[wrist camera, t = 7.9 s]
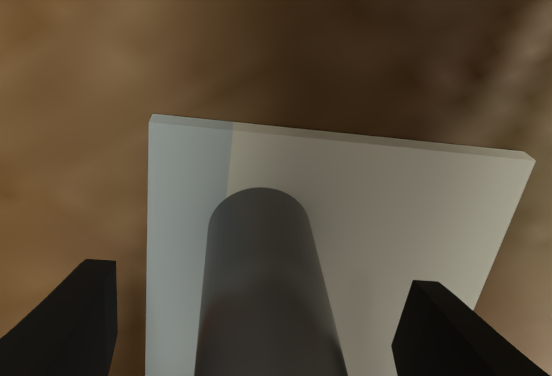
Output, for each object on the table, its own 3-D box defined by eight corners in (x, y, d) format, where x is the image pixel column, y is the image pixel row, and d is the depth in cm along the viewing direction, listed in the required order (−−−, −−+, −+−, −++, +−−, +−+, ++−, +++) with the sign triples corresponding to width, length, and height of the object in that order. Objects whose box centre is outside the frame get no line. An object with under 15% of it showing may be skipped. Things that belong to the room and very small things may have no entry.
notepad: (410, 434, 19) (415, 448, 18) (146, 428, 18) (144, 444, 17) (524, 151, 13) (536, 160, 13) (152, 113, 12) (148, 122, 12)
